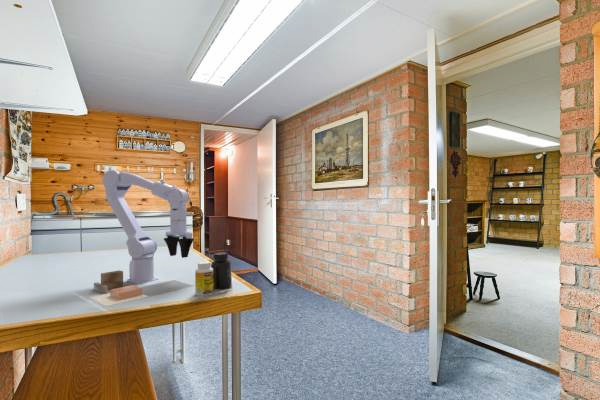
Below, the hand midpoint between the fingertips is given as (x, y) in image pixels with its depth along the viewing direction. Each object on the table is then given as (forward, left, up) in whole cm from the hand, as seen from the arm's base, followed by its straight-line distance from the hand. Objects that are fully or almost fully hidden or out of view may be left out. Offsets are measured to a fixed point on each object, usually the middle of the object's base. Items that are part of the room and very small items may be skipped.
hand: (178, 256), depth 121 cm
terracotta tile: (+5, -21, -9) cm, 23 cm away
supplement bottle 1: (+23, -4, -10) cm, 25 cm away
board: (+5, -15, -9) cm, 18 cm away
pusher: (-8, -20, -10) cm, 24 cm away
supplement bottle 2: (+21, +4, -10) cm, 23 cm away
